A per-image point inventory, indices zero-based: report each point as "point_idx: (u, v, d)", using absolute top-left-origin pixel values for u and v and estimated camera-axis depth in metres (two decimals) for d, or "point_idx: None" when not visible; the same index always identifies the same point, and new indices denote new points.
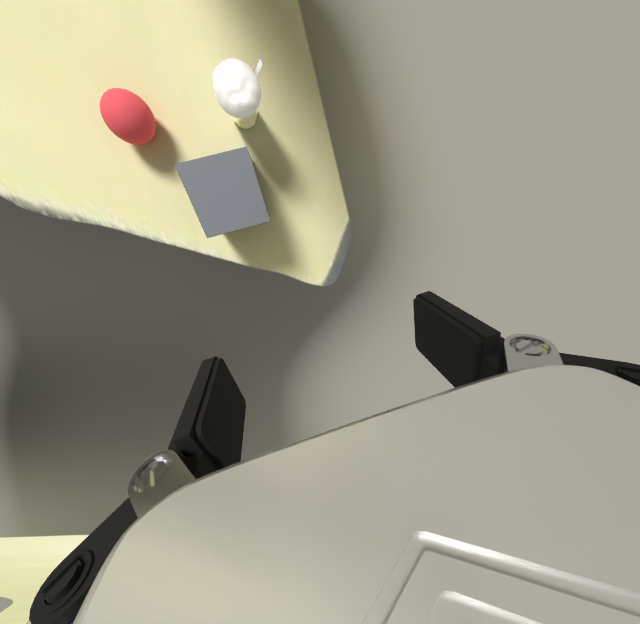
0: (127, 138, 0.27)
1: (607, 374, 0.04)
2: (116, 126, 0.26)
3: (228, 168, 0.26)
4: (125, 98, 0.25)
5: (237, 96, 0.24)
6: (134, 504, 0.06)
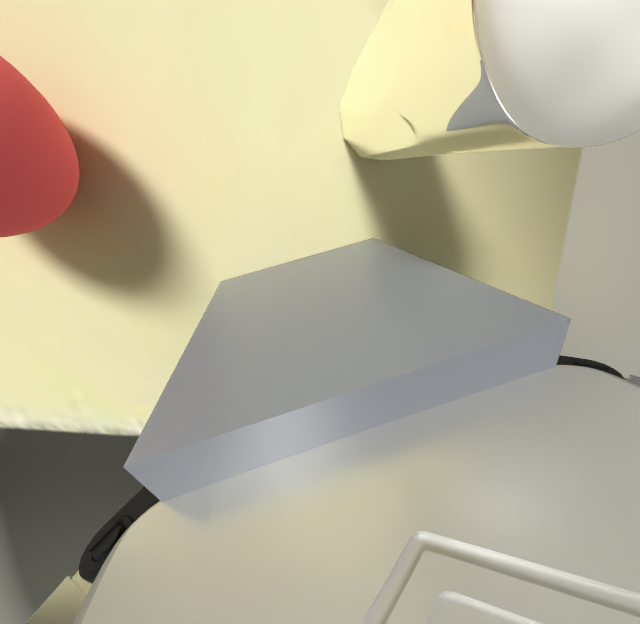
0: None
1: (607, 374, 0.04)
2: None
3: None
4: None
5: None
6: None
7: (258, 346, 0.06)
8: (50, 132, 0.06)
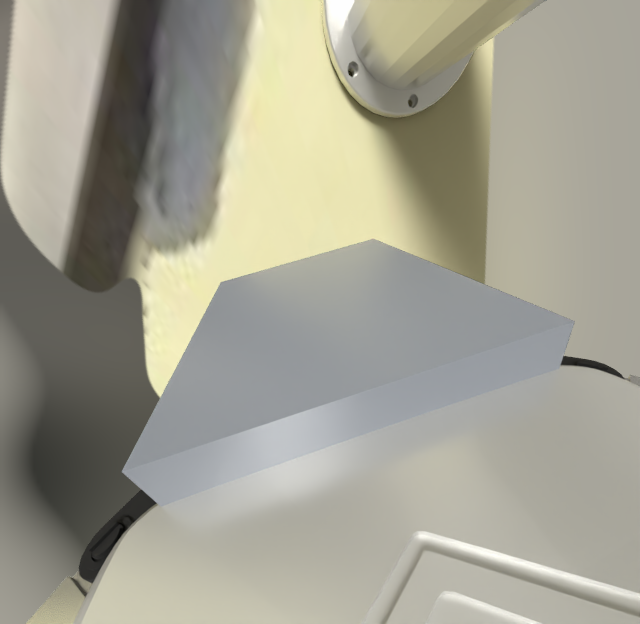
0: None
1: (607, 374, 0.04)
2: None
3: None
4: None
5: None
6: None
7: (258, 348, 0.06)
8: None
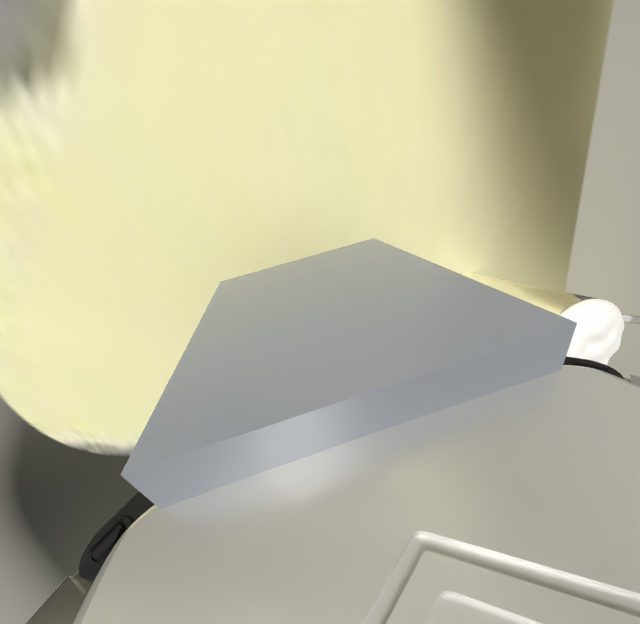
0: None
1: (607, 374, 0.04)
2: None
3: None
4: None
5: None
6: None
7: (258, 349, 0.06)
8: None
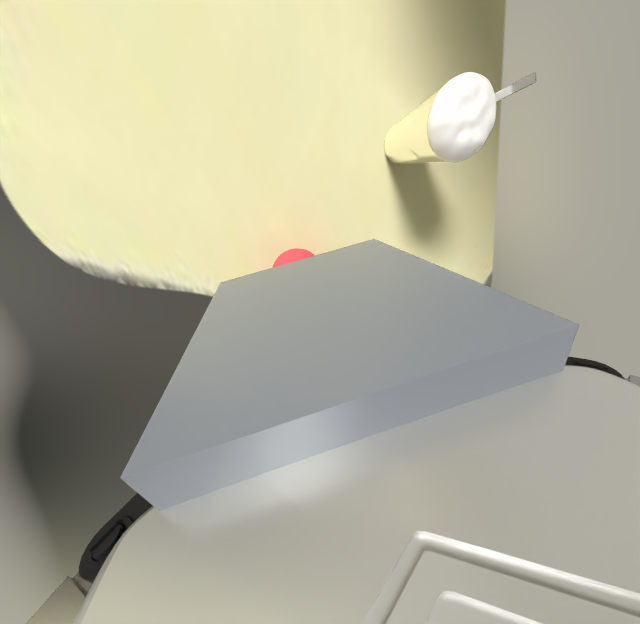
0: (283, 255, 0.22)
1: (607, 374, 0.04)
2: (281, 254, 0.23)
3: None
4: None
5: (469, 132, 0.15)
6: None
7: (258, 350, 0.06)
8: None
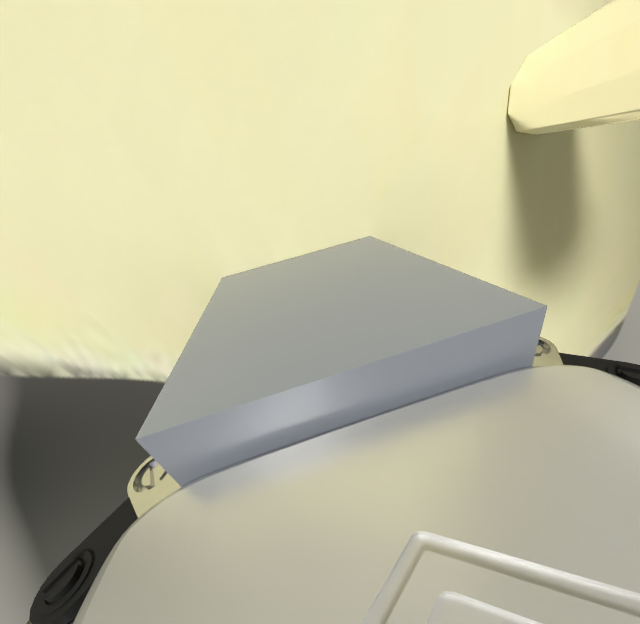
0: None
1: (607, 374, 0.04)
2: None
3: None
4: None
5: None
6: (134, 504, 0.06)
7: (258, 335, 0.06)
8: None
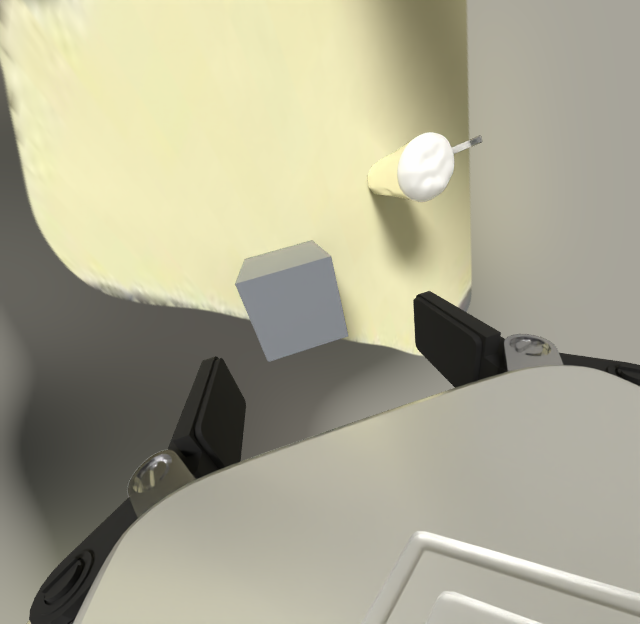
0: None
1: (607, 374, 0.04)
2: None
3: (304, 283, 0.19)
4: None
5: (431, 179, 0.18)
6: (134, 504, 0.06)
7: (261, 269, 0.20)
8: None
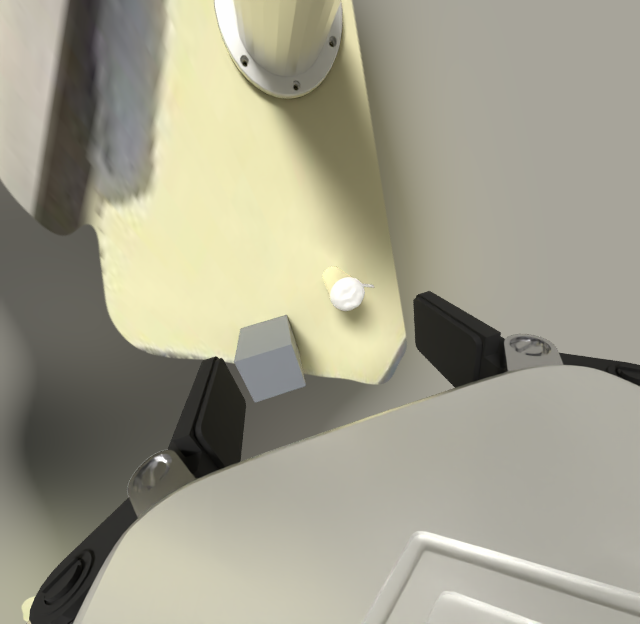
0: None
1: (607, 374, 0.04)
2: None
3: (275, 359, 0.32)
4: None
5: (349, 303, 0.30)
6: (134, 504, 0.06)
7: (250, 347, 0.33)
8: None
